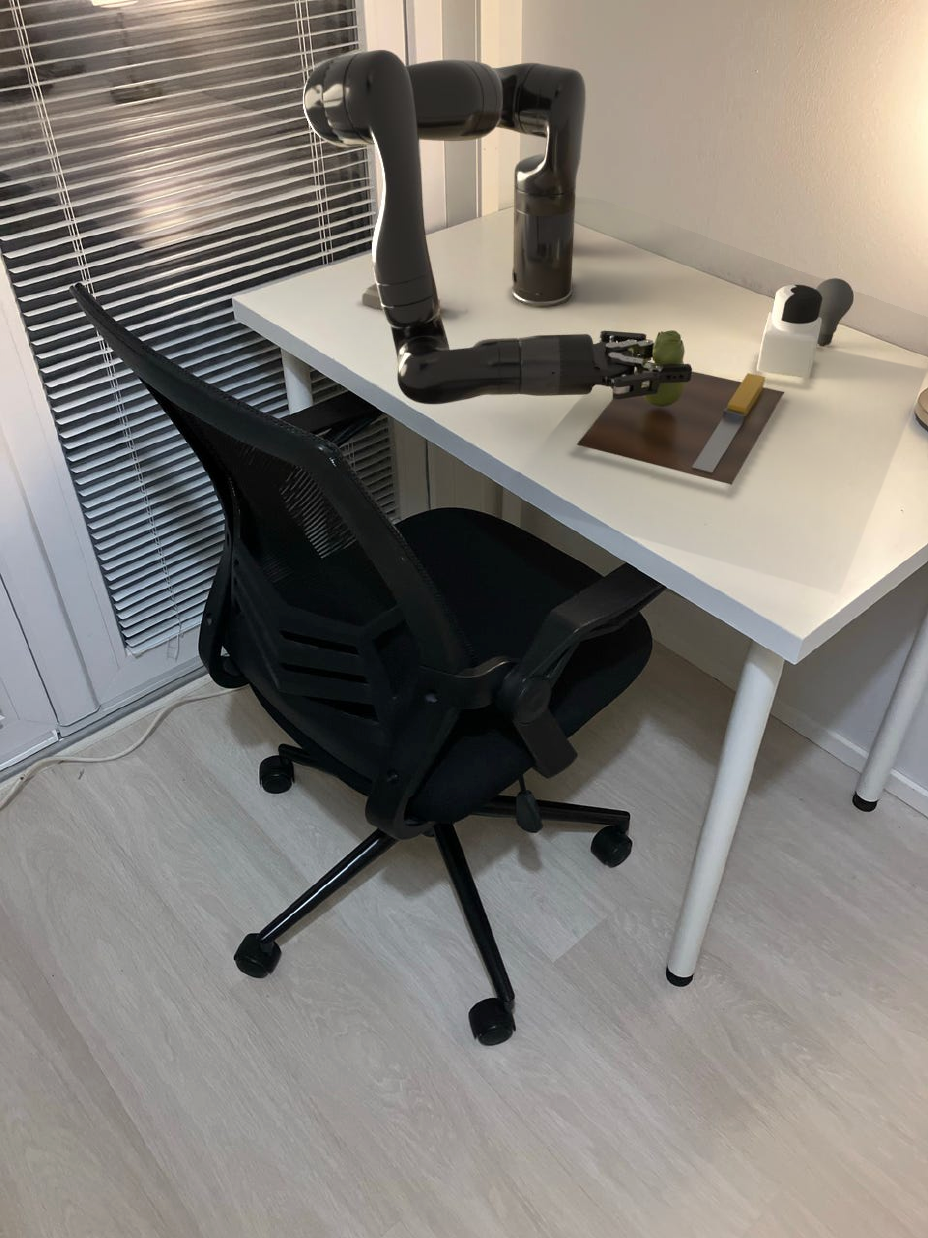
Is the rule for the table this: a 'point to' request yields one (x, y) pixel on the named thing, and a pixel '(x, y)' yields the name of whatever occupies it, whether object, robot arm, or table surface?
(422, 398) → the robot arm
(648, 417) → the cutting board
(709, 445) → the knife
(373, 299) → the usb drive
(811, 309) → the medicine bottle
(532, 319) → the table surface
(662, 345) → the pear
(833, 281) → the light bulb
